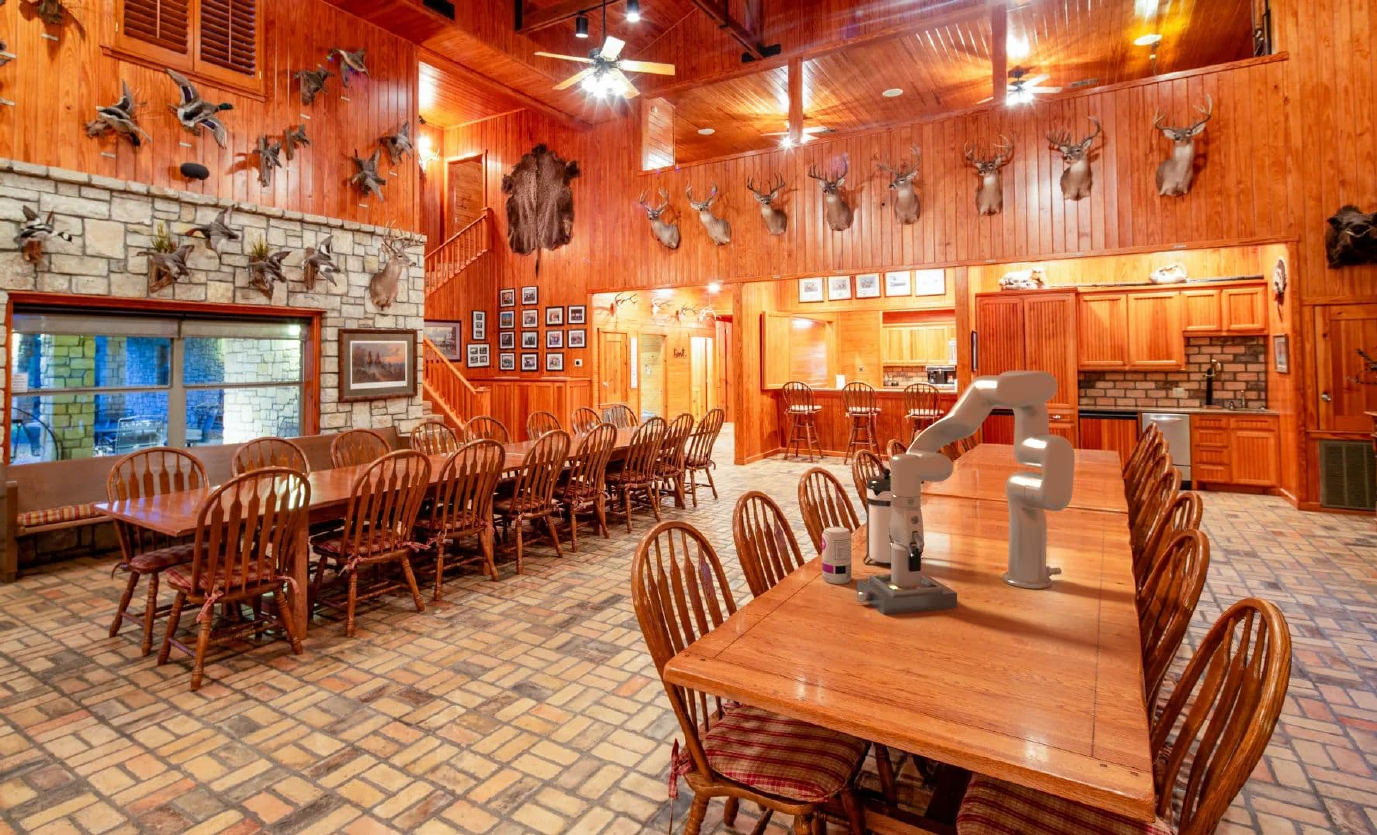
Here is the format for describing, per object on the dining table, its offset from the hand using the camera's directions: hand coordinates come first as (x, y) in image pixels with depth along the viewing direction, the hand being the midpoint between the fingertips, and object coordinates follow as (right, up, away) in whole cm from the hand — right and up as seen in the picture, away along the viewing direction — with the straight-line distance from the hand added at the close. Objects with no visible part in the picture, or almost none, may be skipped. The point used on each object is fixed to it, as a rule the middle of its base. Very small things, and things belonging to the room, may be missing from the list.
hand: (905, 565), depth 177 cm
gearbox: (-1, -10, +1) cm, 10 cm away
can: (0, -6, 0) cm, 6 cm away
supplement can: (-14, -9, +19) cm, 25 cm away
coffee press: (+6, -7, +35) cm, 36 cm away
